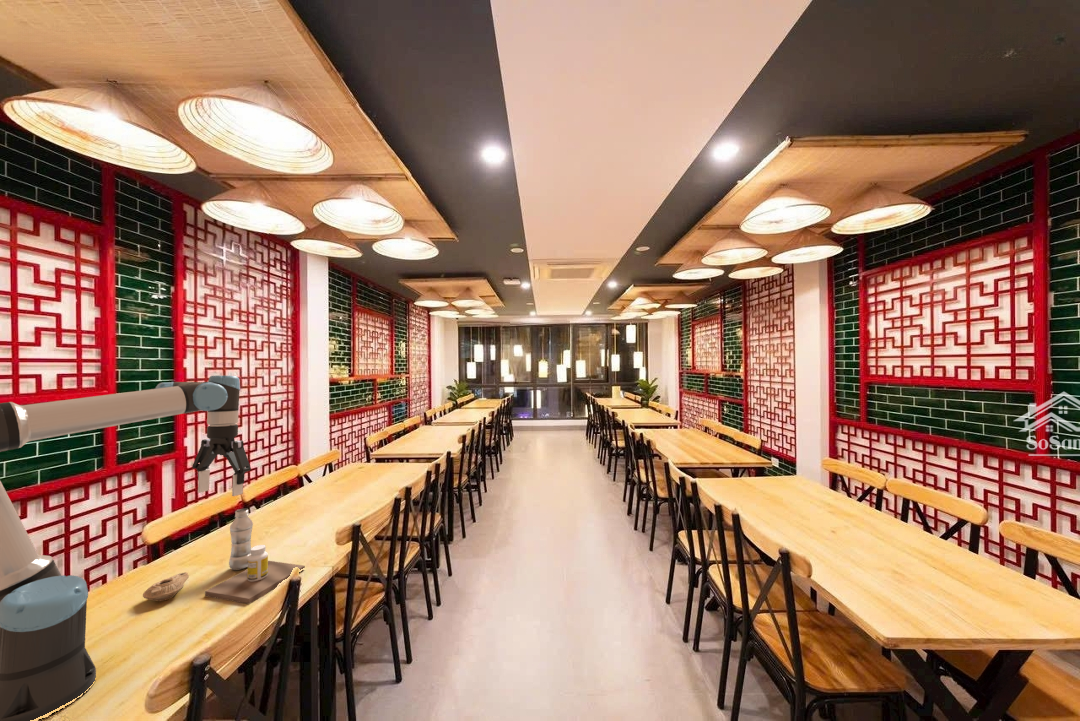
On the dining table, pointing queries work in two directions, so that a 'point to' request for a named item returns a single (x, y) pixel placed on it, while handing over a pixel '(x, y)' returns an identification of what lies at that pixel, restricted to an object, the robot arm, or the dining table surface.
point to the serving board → (251, 584)
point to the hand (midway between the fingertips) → (220, 493)
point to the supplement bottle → (257, 563)
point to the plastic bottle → (240, 540)
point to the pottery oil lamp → (166, 587)
